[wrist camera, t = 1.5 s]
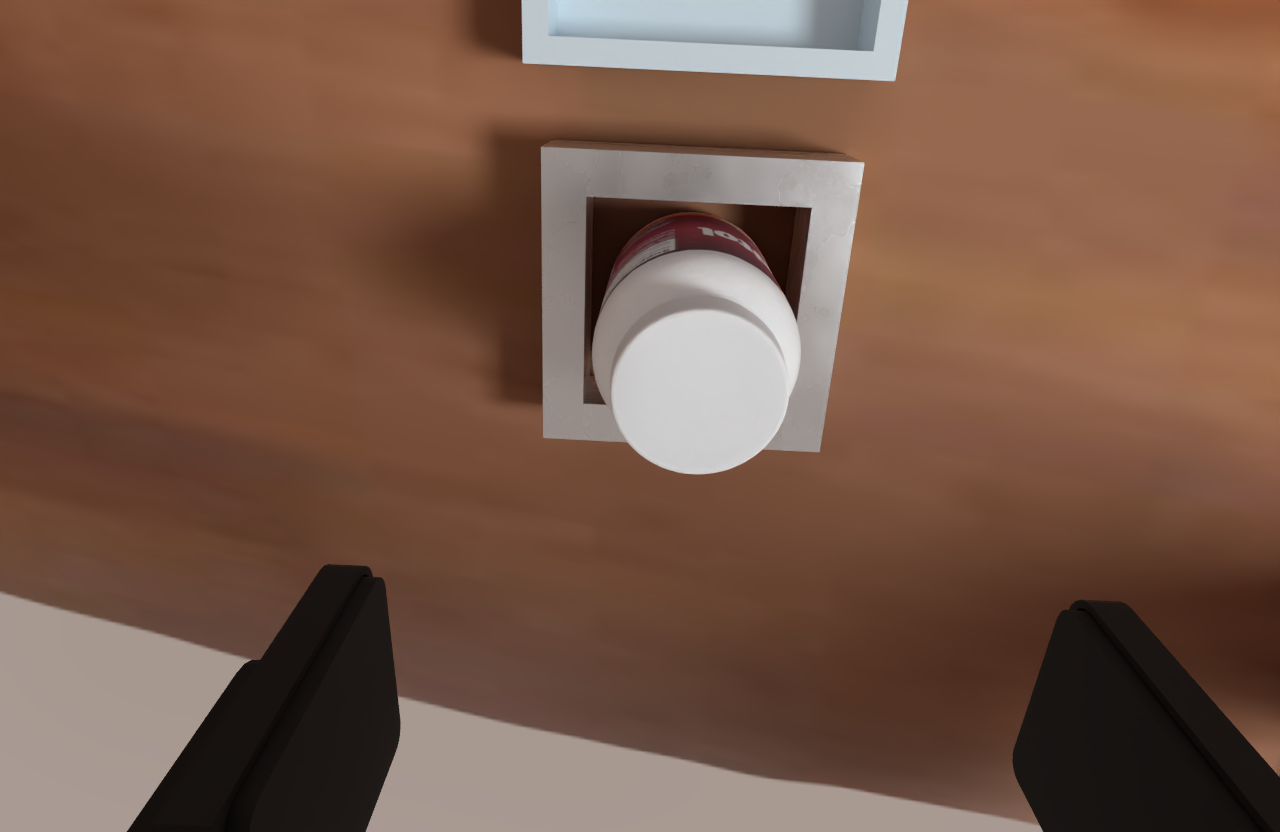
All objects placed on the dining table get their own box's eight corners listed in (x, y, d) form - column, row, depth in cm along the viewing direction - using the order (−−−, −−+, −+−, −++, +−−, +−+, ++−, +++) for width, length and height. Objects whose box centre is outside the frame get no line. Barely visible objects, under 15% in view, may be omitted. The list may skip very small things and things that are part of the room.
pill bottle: (801, 301, 30) (869, 417, 20) (675, 393, 32) (680, 542, 22) (703, 171, 28) (725, 227, 18) (576, 276, 30) (531, 380, 20)
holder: (806, 419, 32) (819, 452, 29) (553, 406, 32) (543, 437, 29) (844, 153, 28) (864, 162, 25) (553, 139, 28) (540, 146, 25)
